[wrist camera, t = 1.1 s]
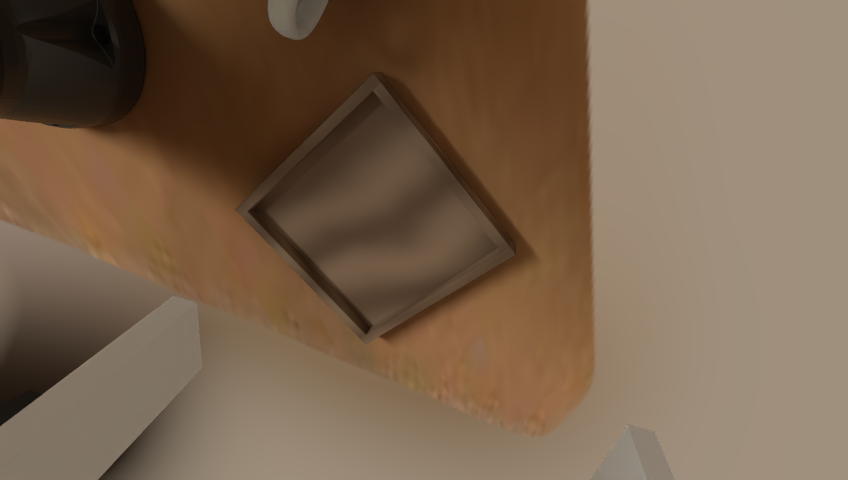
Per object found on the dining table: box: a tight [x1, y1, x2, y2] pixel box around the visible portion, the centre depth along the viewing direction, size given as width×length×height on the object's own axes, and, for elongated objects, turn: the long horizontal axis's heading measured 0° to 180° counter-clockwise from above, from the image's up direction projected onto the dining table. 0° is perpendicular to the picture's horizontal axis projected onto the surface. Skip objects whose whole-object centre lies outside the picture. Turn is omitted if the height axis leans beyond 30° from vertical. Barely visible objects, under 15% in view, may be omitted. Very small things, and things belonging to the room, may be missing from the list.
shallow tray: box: [235, 73, 516, 344], centre depth 33 cm, size 17×17×2 cm
